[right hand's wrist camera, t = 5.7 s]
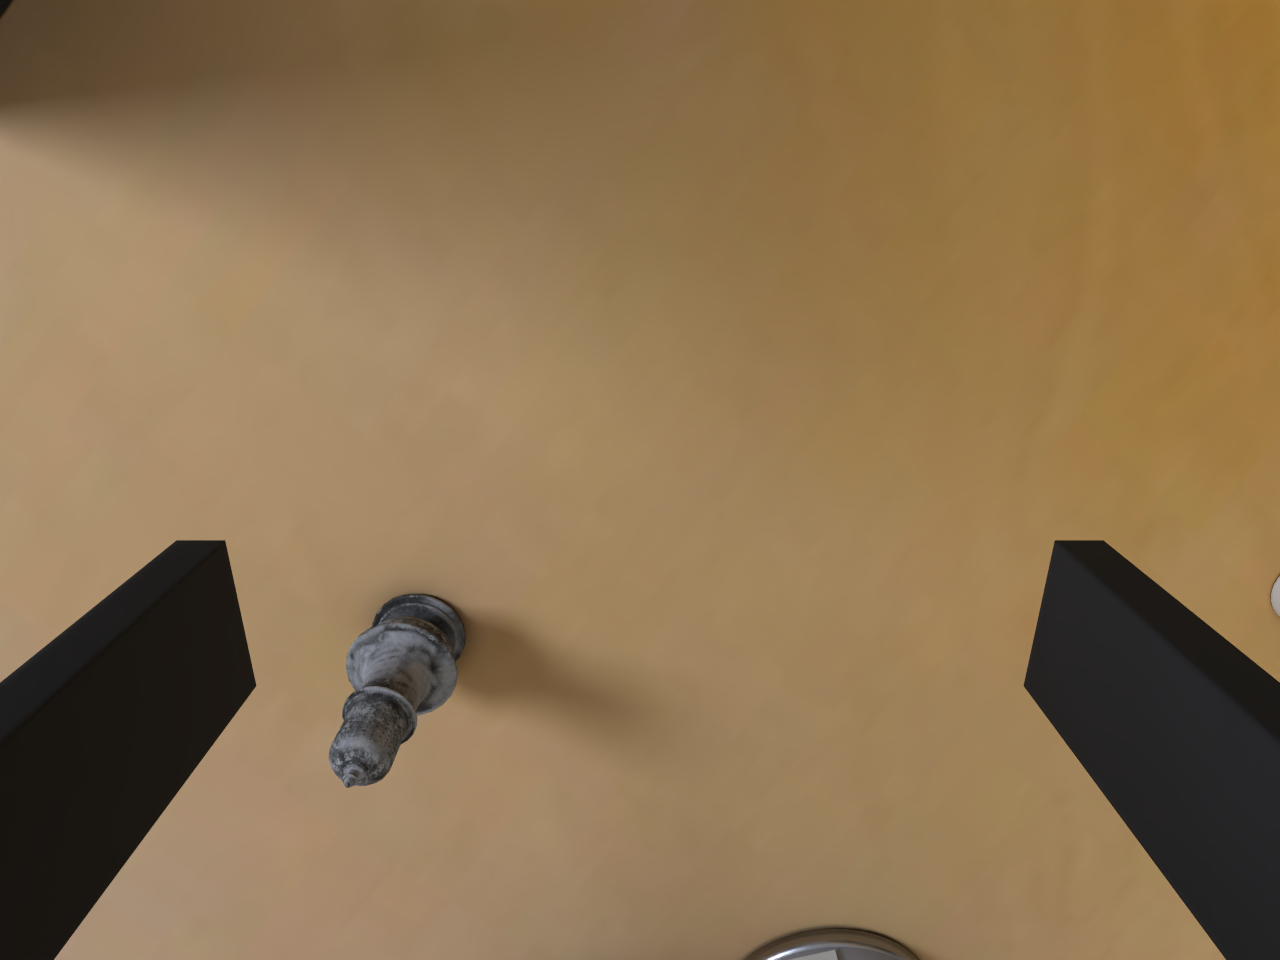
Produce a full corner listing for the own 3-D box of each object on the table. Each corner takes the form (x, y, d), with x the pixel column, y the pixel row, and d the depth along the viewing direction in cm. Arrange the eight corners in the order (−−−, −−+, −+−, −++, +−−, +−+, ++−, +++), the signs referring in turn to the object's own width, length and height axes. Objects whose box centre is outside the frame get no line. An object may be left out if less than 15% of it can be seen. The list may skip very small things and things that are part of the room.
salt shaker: (415, 570, 44) (338, 707, 33) (491, 637, 45) (443, 791, 34) (346, 631, 45) (250, 783, 34) (422, 694, 47) (354, 859, 36)
